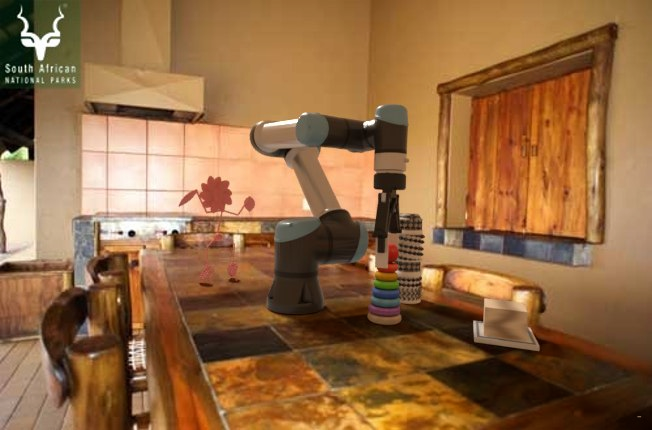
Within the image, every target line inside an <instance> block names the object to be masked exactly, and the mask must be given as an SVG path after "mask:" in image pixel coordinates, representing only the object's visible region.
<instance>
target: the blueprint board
mask: <svg viewBox="0 0 652 430" xmlns="http://www.w3.org/2000/svg"><path fill="white" fill-rule="evenodd" d="M472 321H473V322H472V323H473V324H472V327H473V341H474V343H477V344H478V343H479V344H486V345H493V346H501V347H508V348H515V349H522V350H530V351H535V352H540V344H539V342H538V340H537V339H536V337H535V334H534V332H533V331H532V329H531V327H528V326H527V333H526V341H521V340H514V339H507V338H500V337H493V336H486V335H484V331H483V321H481V320H479V321H478V320H472Z"/></svg>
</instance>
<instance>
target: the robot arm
mask: <svg viewBox="0 0 652 430" xmlns="http://www.w3.org/2000/svg"><path fill="white" fill-rule="evenodd" d="M408 130H409V112H408V109H407V108H406V106H404V105H401V104H398V103H397V104H396V103H395V104H394V103H390V104H382V105H379V106H377V108H376V110H375V115H374V118H373V119H372V118H371V119H368V120H359V119H352V118H347V117H338V116H333V115H328V114H327V115H326V114H321V113H319V112H303V113H302V114H300V116H299V117H298V118H295V119H290V120H289V119H288V120H283V121H277V120H270V119H269V120H267V119H266V120H261V121H258V122H256V123H255V124H254V125H253V126H252V127H251V128H250V132H249V141H250V145H251V146H252V148H253V149H254V150H255V151H256V152H257V153H258V154H261V155H263V156H266V157H270V158H280V159H284V162H285V164H286V166H287V167H288V168H289V169H291V170H293V172H294V173H295V177H296V178H297V181H298V184H299V185H300V188H301V190H302V193H303V195H304V198H305V200H306V202H307V205H308V207H309V209H310V212H311V215H312V216H303V217H300V216H299V217H291V218H287V219H286V218H285V219H283V220H280V221H278V222H277V223H276V225H275V231H274V238H273V240H274V261H273V262H274V263H273V264H274V265H273V267H274V268H273V279H272V282H271V285H270V287H269V291H268V293H267V297H266V308H267V310H270V311H272V312H274V313H279V314H285V315H305V314H306V315H307V314H312V313H317V312H318V313H319V312H320V311H322V310H323V309H324V308H325V297H324V294H323V293H324V292H323V290H322V289H323V288H322V286H321V283H320V280H319V279H320V278H319V272H320V271H319V268H320V266H324V265H325V266H327V265H339V264H345V265H347V264H351V263H357V262H359V261H361V260H362V259H363V258H364V256H366V253H367V251H368V247H369V246H368V245H369V232H368V228H367V227H366V225H365V224H364V222H360V221H359V220H356V221H354V219H353V217H352V215H351V213H350V212H349V210H347V209H345V208H342V207H341V205H340V203H339V200H338V199H337V197H336V195H335V192H334V190H333V188H332V185H331V184H330V182H329V179H328V177H327V175H326V173H325V171H324V169H323V167H322V165H321V163H320V161H319V156H320V153H321V151H322V150H321V149H322V148H328V149H339V150H346V151H348V152H350V153H352V154H355V153H359V154H363V153H365V152H371V151H374V155H373V171H374V172H376V173H374V174H373V189H374V190H376V191H377V190H378V191H379V190H380V191H382V192H378V194H377V204H376V205H377V207H376V214H375V221H374V229H373V233H371V238H373V239H374V238H375V254H374V255H375V256H374V258H375V259H374V268H376V267H377V268H388V246H389V243H392V244H394V245H395V246H396V247H397V248H398V243H399V234H397V233H402V229H400V194H398V193H397V191H405V190H406V189H407V175H406V174H405V172H406V171H407V163H409V162H410V159H409V158H407V155H408V154H407V153H408V135H409V134H408V132H409V131H408ZM397 260H398V258H397ZM377 268H376V269H377Z"/></svg>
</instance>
